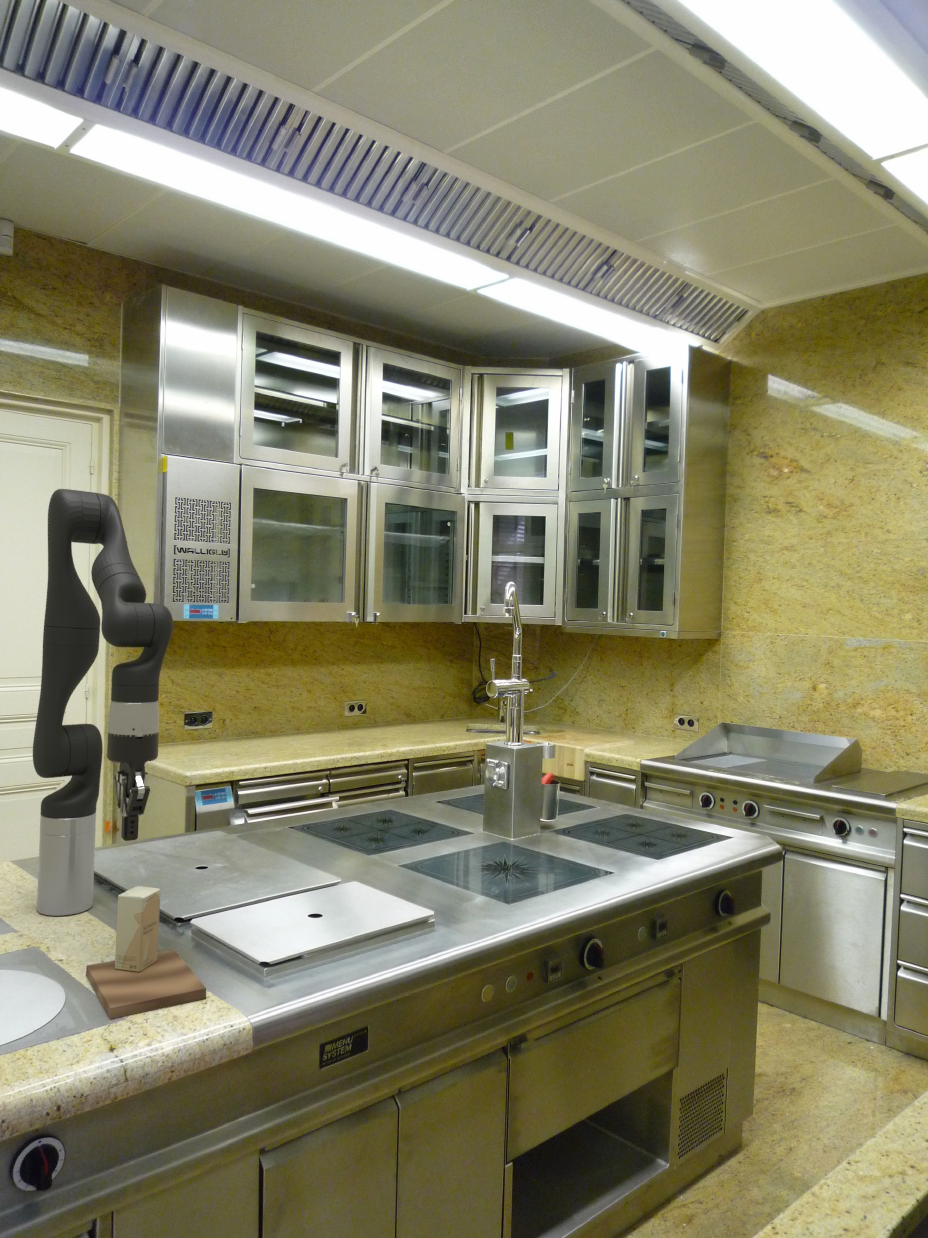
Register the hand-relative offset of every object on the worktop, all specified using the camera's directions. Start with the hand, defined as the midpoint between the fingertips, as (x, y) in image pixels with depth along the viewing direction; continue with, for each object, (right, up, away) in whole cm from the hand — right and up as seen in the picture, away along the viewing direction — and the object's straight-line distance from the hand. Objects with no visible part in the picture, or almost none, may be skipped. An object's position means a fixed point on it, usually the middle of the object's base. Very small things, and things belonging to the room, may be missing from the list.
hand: (129, 839), depth 138 cm
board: (+6, -19, -10) cm, 22 cm away
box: (+3, -18, -6) cm, 19 cm away
